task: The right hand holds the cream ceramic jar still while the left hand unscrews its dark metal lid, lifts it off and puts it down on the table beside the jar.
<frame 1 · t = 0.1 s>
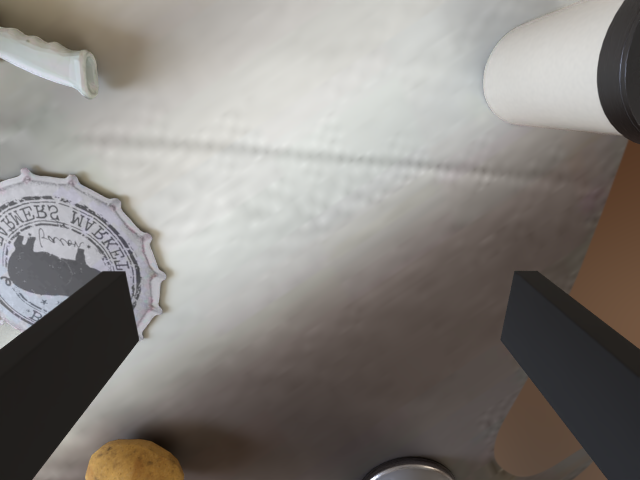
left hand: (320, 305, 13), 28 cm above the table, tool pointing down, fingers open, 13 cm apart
potato: (149, 449, 53), on the table
jar: (531, 75, 36), on the table
decorative wall hanging: (65, 293, 44), on the table
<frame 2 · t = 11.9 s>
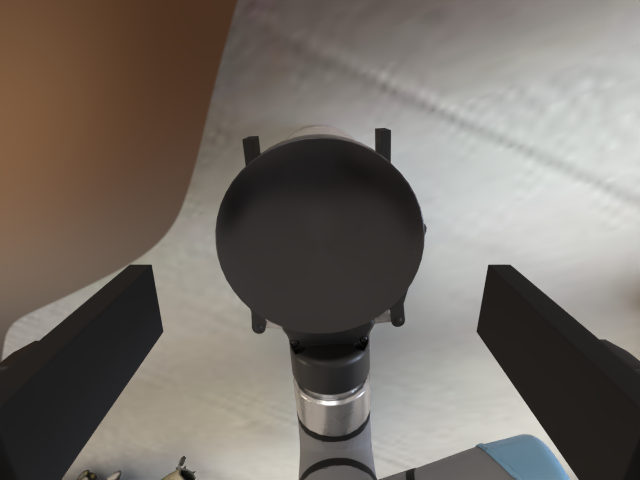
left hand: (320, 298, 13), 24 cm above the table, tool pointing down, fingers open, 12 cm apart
jar: (320, 176, 35), on the table, touching right hand
lid: (320, 242, 18), point 18 cm above the table, screwed on, not yet turned
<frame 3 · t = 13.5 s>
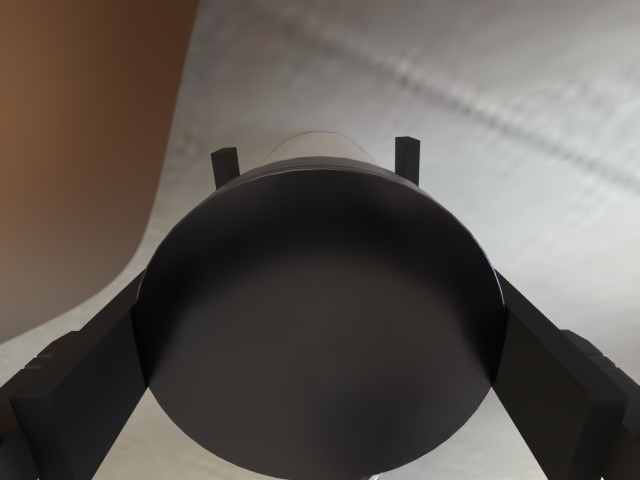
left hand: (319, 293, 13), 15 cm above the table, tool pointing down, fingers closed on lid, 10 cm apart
jar: (319, 196, 28), on the table, touching right hand
lid: (319, 345, 11), point 18 cm above the table, screwed on, not yet turned, touching left hand
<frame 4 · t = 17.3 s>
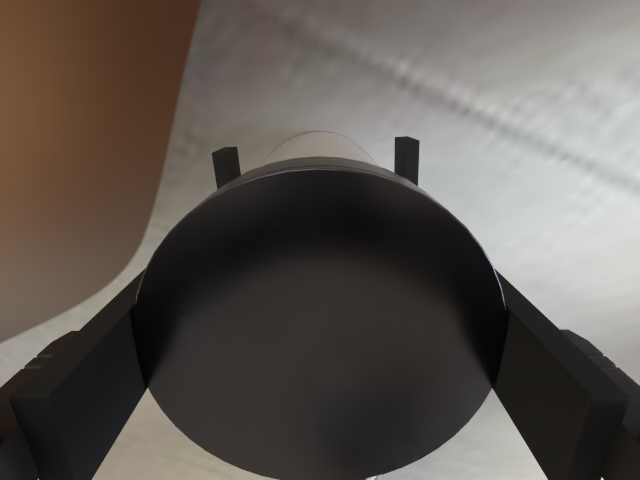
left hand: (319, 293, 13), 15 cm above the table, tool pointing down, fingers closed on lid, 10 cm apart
jar: (319, 196, 28), on the table, touching right hand
lid: (320, 346, 10), point 18 cm above the table, turned 129° so far, risen 0.2 cm, still on its thread, touching left hand
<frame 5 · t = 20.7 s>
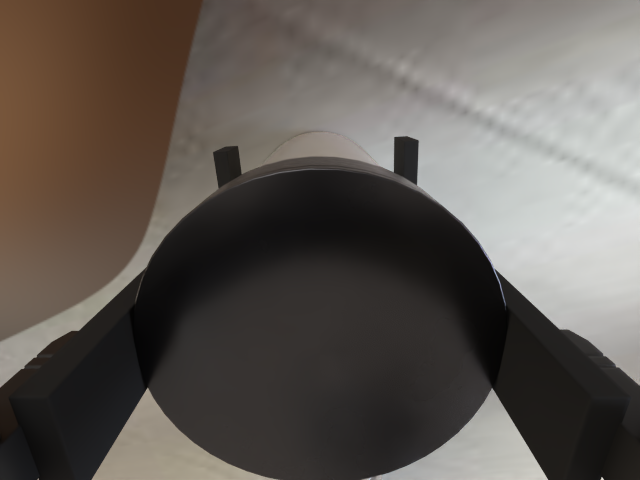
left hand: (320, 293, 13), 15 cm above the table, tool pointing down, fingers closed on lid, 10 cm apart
jar: (319, 195, 28), on the table, touching right hand
lid: (320, 346, 10), point 19 cm above the table, turned 259° so far, risen 0.4 cm, still on its thread, touching left hand
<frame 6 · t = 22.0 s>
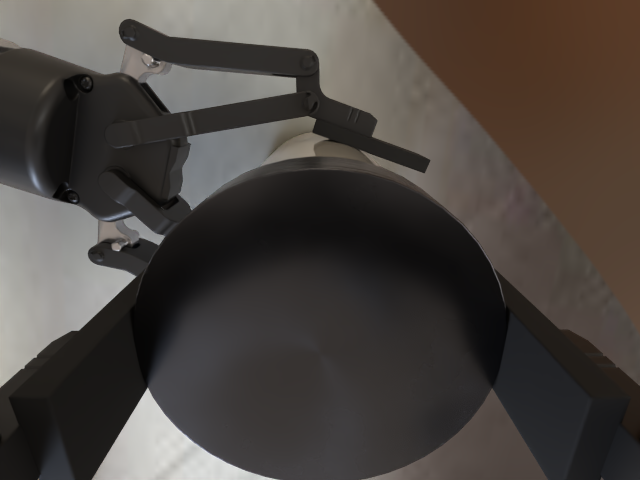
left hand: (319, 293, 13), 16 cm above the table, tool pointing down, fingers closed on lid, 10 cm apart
right hand: (387, 240, 23), fingers closed on jar, 9 cm apart
jar: (319, 194, 28), on the table, touching right hand
lid: (320, 346, 10), point 19 cm above the table, off its thread, touching left hand
when the left hand's fingers open (0 cm above the table, at t = 28.4 s): lid drops 2 cm, point 2 cm above the table.
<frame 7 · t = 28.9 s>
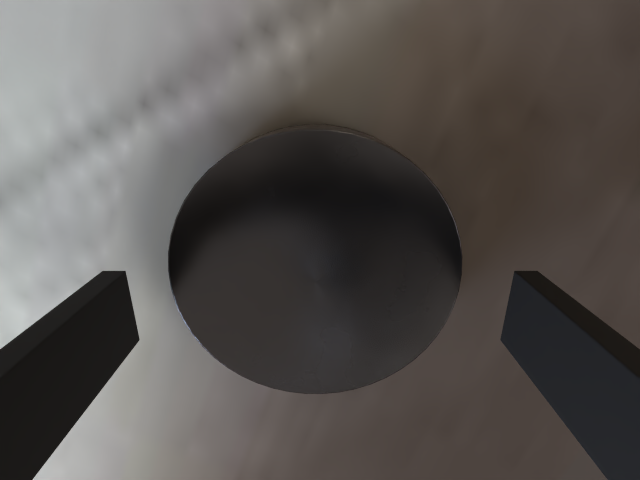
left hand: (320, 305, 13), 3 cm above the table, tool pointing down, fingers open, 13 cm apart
lid: (315, 276, 13), point 2 cm above the table, off its thread
when the right hand's fingers open (6 cm above the table, at t = 29.4 s): jar stays where it is, on the table.
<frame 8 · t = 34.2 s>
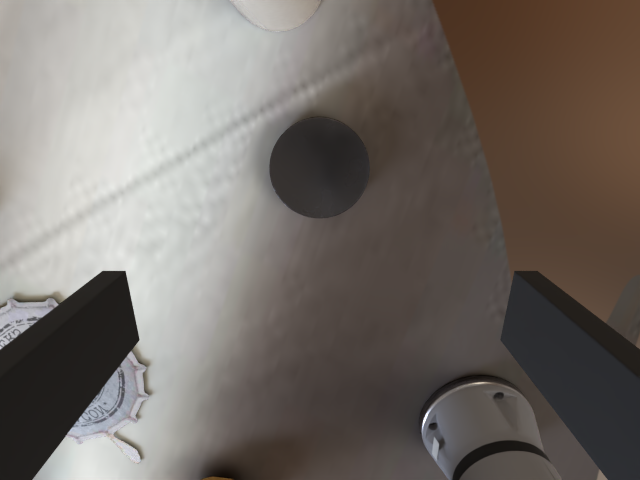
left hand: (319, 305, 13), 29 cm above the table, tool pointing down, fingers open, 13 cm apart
decorative wall hanging: (73, 390, 50), on the table
lid: (319, 169, 38), point 2 cm above the table, off its thread
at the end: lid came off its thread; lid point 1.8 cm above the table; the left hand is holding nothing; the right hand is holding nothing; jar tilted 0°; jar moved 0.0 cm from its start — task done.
